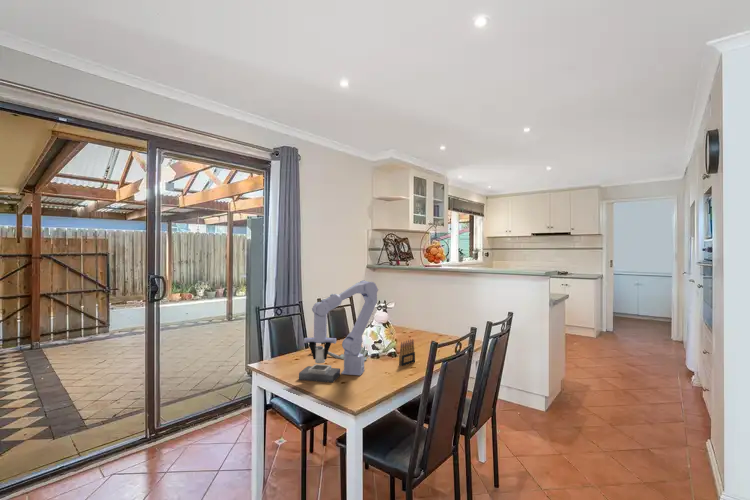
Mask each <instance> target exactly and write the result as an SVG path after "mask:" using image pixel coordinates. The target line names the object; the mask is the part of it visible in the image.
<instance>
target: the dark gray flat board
mask: <svg viewBox="0 0 750 500" xmlns="http://www.w3.org/2000/svg"><path fill="white" fill-rule="evenodd" d="M340 376H341V368H335V367H332V364H331V365H330V364H321V363H315V364H313V365H312V366H310V365H308V366H306V367H305V368H303V369H302V370H301V371H300V372H298V380H299V381H311V382H318V383H319V382H321V383H333V384H334V382H335V381H336V380H337V379H338V378H339V377H340Z"/></svg>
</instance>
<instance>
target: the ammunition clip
mask: <svg viewBox="0 0 750 500" xmlns="http://www.w3.org/2000/svg"><path fill="white" fill-rule="evenodd" d="M414 342H415V341H414V338H411V339H408V340H405V341H401V342H400V347H399V357H398V358H399V359H398V360H399V361H398V364H399V366H400V367H404V366H406V364H407V365H409V363H410V364H412V363H411V362H413V363H415V362H416V352H415V343H414ZM403 365H404V366H403Z"/></svg>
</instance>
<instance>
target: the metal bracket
mask: <svg viewBox="0 0 750 500" xmlns="http://www.w3.org/2000/svg"><path fill="white" fill-rule="evenodd" d="M365 346H366V345H364V346H361V351H360V352H359V353H360V354H363V355H364V362H366V361H367V359H368V357H367V356H366V355H367V353H368V351H367V350H365ZM363 347H364V348H363ZM339 356H340V358H341V359H342V360H344V353H341V354H340V355H339ZM341 359H340V360H341Z"/></svg>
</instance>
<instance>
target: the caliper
mask: <svg viewBox="0 0 750 500" xmlns="http://www.w3.org/2000/svg"><path fill="white" fill-rule="evenodd" d="M318 346H319V345H317V344H316V348H318ZM310 353H311V354H312V352H310ZM327 356H330V357H333V358H335V359H339V360H341V358H340V355H338V354H336V353H333V352H331V351H330V350H328V354H327Z"/></svg>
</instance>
